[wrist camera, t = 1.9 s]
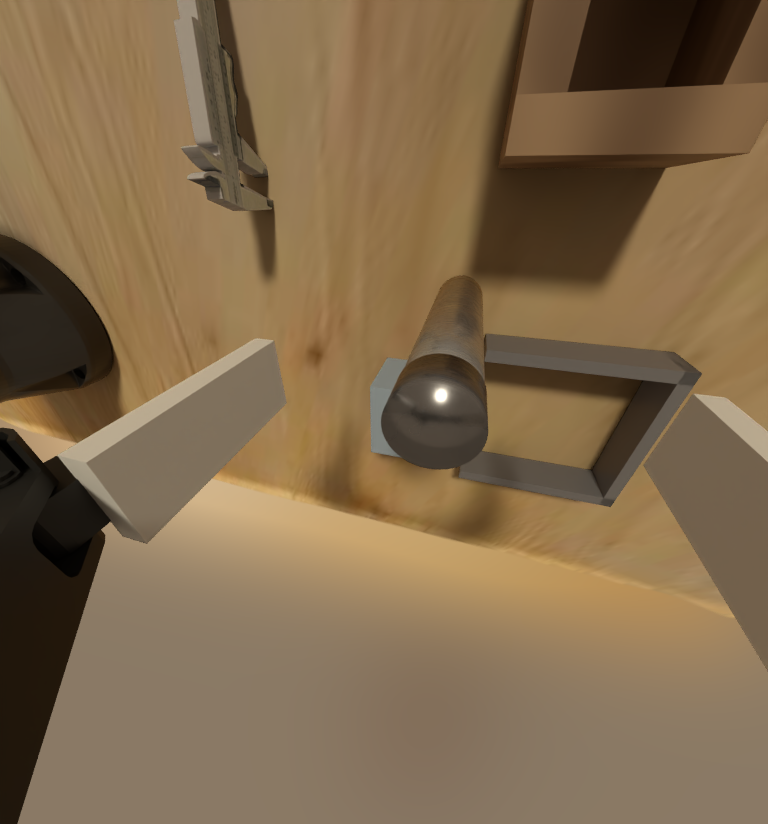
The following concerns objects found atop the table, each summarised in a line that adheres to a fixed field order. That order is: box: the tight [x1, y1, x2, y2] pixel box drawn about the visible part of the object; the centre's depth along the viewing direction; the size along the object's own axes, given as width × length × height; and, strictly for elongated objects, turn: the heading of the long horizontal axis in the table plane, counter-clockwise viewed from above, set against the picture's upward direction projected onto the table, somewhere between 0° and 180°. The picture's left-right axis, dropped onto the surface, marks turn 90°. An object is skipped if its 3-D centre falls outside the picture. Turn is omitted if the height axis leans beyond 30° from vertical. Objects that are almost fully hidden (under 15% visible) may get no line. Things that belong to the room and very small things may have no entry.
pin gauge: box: [381, 276, 488, 469], centre depth 15 cm, size 3×3×15 cm
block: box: [370, 358, 408, 458], centre depth 24 cm, size 6×6×5 cm
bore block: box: [498, 0, 768, 168], centre depth 11 cm, size 8×8×6 cm
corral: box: [459, 334, 702, 507], centre depth 23 cm, size 12×12×3 cm
